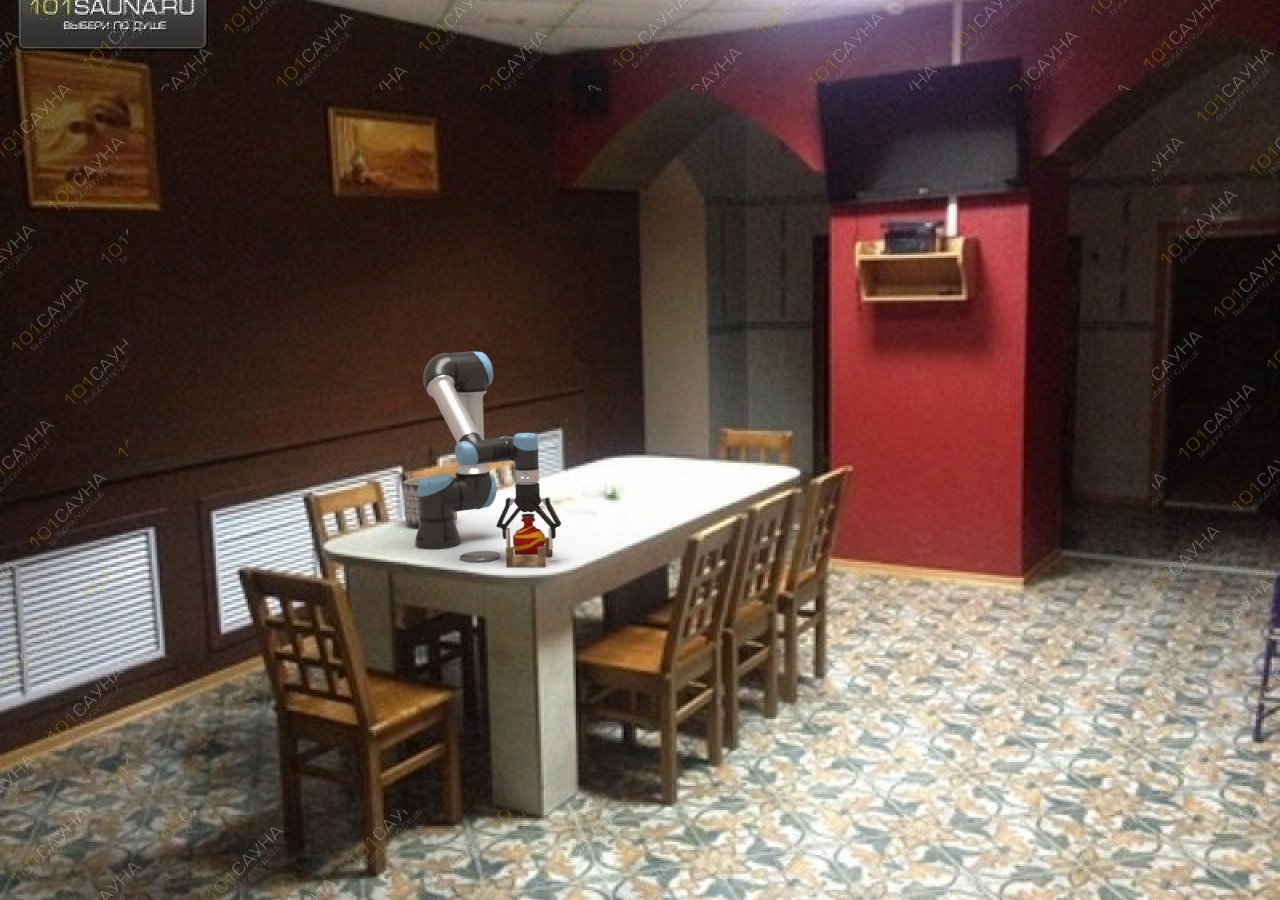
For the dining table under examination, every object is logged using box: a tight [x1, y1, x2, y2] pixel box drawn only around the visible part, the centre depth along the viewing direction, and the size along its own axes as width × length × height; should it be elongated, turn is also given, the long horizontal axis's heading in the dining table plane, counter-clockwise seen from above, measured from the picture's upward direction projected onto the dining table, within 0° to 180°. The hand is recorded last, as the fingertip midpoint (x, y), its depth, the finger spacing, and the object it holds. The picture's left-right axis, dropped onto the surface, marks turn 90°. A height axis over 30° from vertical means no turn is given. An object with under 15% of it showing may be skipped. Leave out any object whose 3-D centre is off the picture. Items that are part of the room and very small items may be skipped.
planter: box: [402, 476, 458, 527], centre depth 430 cm, size 19×19×16 cm
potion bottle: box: [512, 513, 546, 555], centre depth 368 cm, size 10×10×15 cm
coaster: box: [459, 550, 502, 563], centre depth 375 cm, size 13×13×1 cm
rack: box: [505, 536, 554, 568], centre depth 369 cm, size 12×16×6 cm
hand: (529, 549), depth 369 cm, fingers open, 13 cm apart
